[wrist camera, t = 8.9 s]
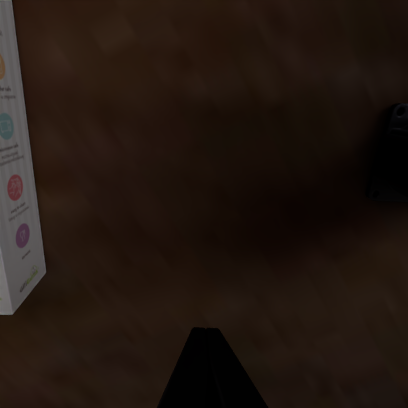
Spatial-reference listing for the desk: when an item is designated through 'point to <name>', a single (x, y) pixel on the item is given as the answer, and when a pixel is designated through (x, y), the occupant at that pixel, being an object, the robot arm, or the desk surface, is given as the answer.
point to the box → (16, 180)
